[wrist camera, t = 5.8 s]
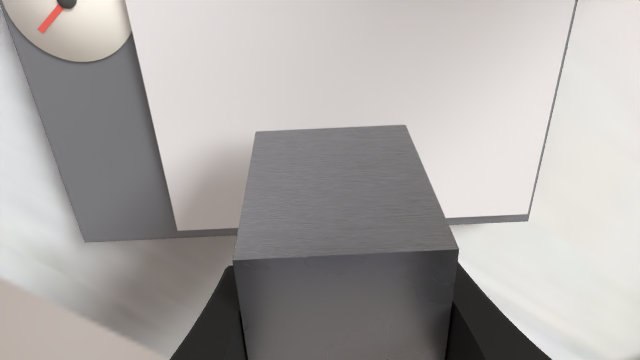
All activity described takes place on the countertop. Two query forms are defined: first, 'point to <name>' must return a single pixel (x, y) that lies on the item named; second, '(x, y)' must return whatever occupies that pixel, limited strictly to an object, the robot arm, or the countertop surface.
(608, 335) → the countertop surface
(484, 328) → the robot arm
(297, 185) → the block
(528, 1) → the scale
